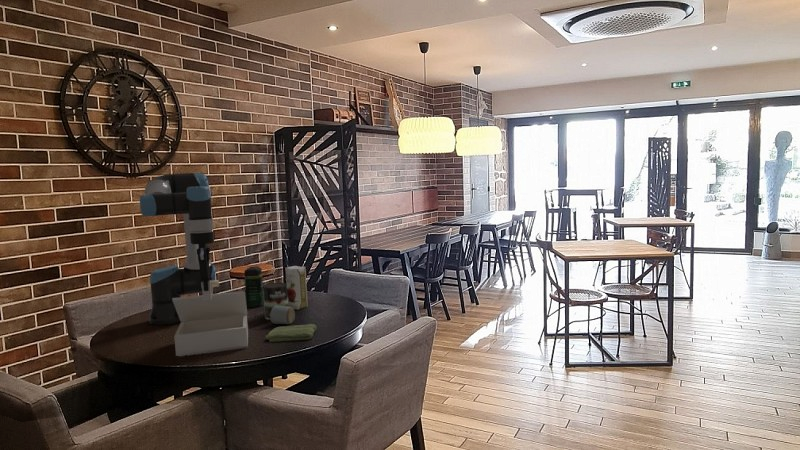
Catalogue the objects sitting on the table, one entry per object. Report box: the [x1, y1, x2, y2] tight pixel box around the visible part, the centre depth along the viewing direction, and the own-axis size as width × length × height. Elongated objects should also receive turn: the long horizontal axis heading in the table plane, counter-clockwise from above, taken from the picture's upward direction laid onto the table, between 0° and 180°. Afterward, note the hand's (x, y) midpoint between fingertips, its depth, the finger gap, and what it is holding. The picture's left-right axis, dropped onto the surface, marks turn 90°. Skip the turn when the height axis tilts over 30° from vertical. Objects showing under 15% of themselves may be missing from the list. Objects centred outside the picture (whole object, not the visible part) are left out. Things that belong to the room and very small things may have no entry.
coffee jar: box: [243, 265, 264, 308], centre depth 246 cm, size 10×8×19 cm
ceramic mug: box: [270, 305, 296, 325], centre depth 216 cm, size 11×8×8 cm
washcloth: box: [265, 323, 318, 343], centre depth 198 cm, size 13×18×3 cm
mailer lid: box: [172, 279, 248, 322], centre depth 194 cm, size 18×24×9 cm
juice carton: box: [285, 265, 309, 310], centre depth 239 cm, size 8×9×19 cm
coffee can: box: [263, 282, 288, 321], centre depth 225 cm, size 10×10×14 cm
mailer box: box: [173, 314, 249, 357], centre depth 191 cm, size 18×24×8 cm
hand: (207, 299), depth 178 cm, fingers closed
